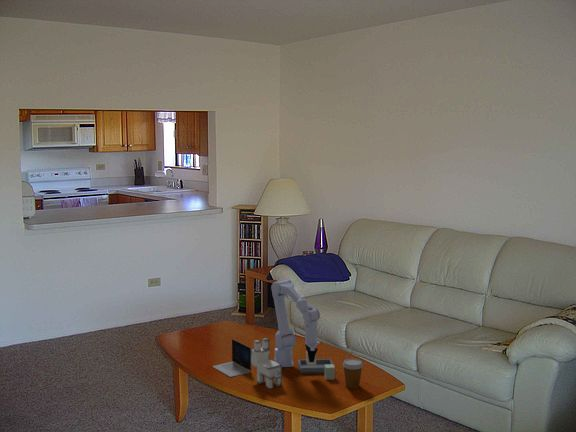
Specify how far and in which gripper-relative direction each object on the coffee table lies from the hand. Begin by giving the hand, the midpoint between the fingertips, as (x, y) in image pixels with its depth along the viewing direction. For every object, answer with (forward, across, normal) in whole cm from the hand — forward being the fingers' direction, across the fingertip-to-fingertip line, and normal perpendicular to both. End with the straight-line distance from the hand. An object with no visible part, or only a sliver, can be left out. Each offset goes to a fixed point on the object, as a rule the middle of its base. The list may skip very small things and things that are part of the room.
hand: (311, 360), depth 324 cm
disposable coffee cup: (+8, -14, -18) cm, 25 cm away
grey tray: (+8, +10, -3) cm, 13 cm away
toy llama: (+9, -7, +22) cm, 24 cm away
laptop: (+9, +12, +40) cm, 42 cm away
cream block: (+2, 0, 0) cm, 2 cm away
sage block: (+8, -2, -9) cm, 12 cm away
